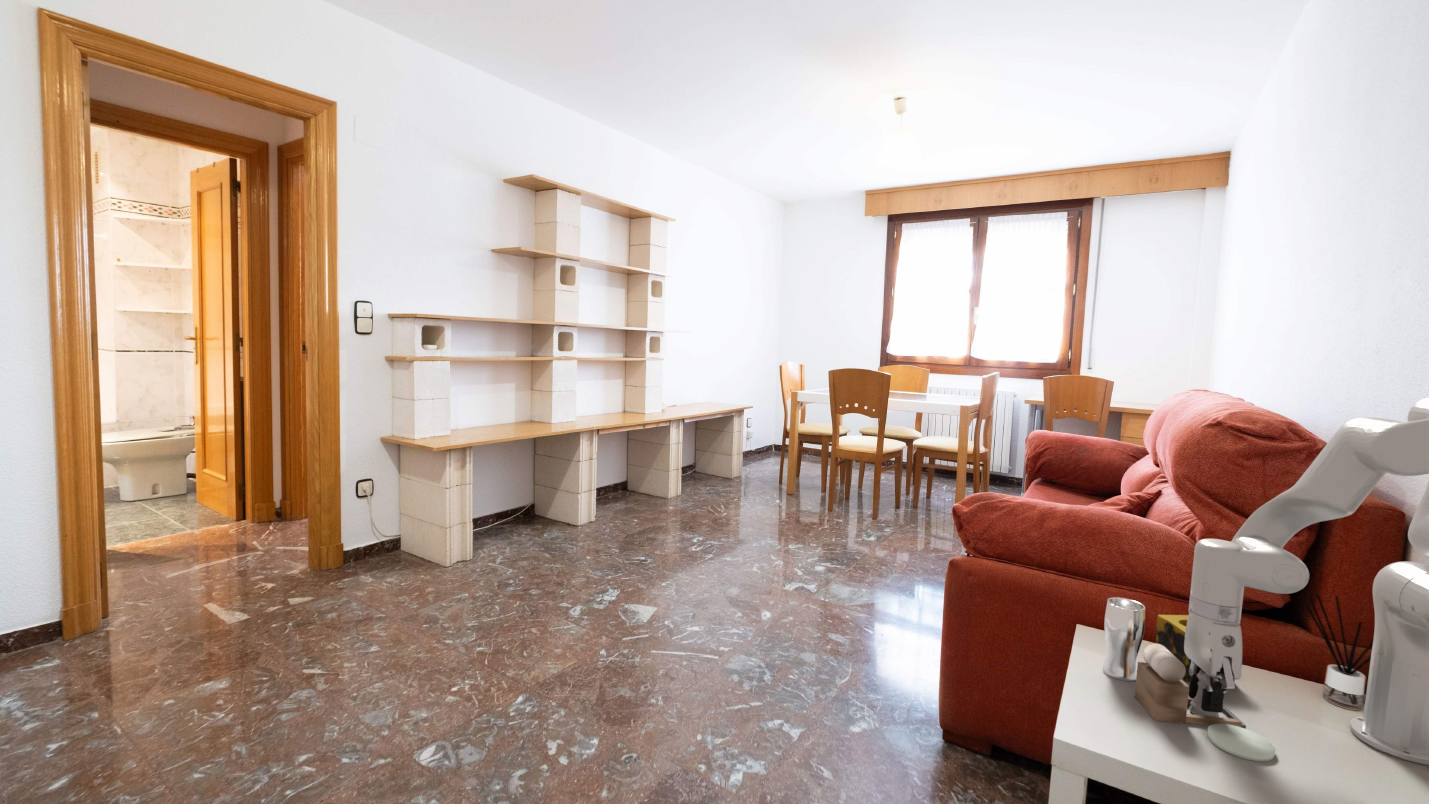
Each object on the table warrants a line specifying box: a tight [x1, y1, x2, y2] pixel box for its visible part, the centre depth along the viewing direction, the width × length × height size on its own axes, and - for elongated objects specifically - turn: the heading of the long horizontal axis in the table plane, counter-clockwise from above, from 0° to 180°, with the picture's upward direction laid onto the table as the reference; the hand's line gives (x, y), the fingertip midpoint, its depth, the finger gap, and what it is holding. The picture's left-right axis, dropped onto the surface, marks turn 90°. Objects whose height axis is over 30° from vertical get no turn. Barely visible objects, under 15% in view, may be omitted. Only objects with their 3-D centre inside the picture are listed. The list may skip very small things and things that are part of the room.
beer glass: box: [1102, 596, 1146, 682], centre depth 135 cm, size 7×7×15 cm
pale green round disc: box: [1206, 724, 1276, 763], centre depth 112 cm, size 9×9×1 cm
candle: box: [1155, 614, 1236, 682], centre depth 137 cm, size 10×10×10 cm
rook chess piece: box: [1188, 670, 1220, 717], centre depth 121 cm, size 4×4×8 cm
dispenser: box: [1134, 643, 1247, 729], centre depth 121 cm, size 15×8×11 cm, turn 80°
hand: (1204, 703), depth 121 cm, fingers closed on rook chess piece, 3 cm apart
